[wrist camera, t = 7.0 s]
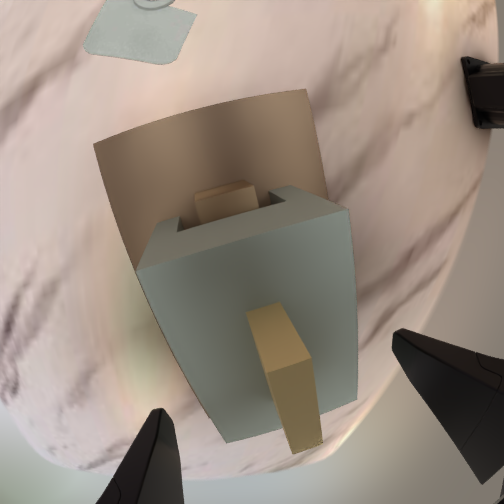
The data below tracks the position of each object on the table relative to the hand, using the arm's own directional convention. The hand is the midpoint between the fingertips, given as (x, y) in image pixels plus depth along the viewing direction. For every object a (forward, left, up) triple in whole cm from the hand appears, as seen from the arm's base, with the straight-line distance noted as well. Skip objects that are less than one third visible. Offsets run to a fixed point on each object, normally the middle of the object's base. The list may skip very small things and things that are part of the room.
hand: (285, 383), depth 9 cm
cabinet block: (0, 0, -7) cm, 7 cm away
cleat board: (0, 0, -9) cm, 9 cm away
